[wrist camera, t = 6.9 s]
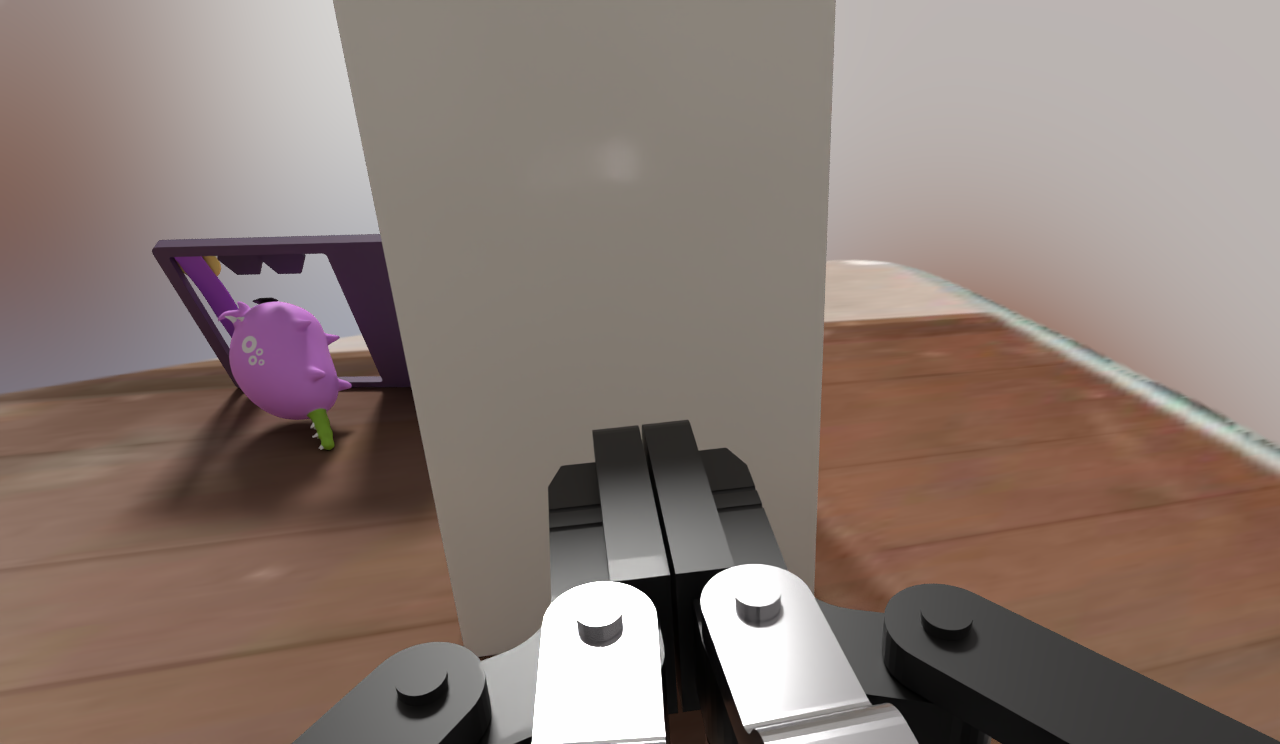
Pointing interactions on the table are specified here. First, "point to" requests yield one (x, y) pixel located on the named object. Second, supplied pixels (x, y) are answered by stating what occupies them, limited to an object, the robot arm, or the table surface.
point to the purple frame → (289, 319)
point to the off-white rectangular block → (597, 252)
